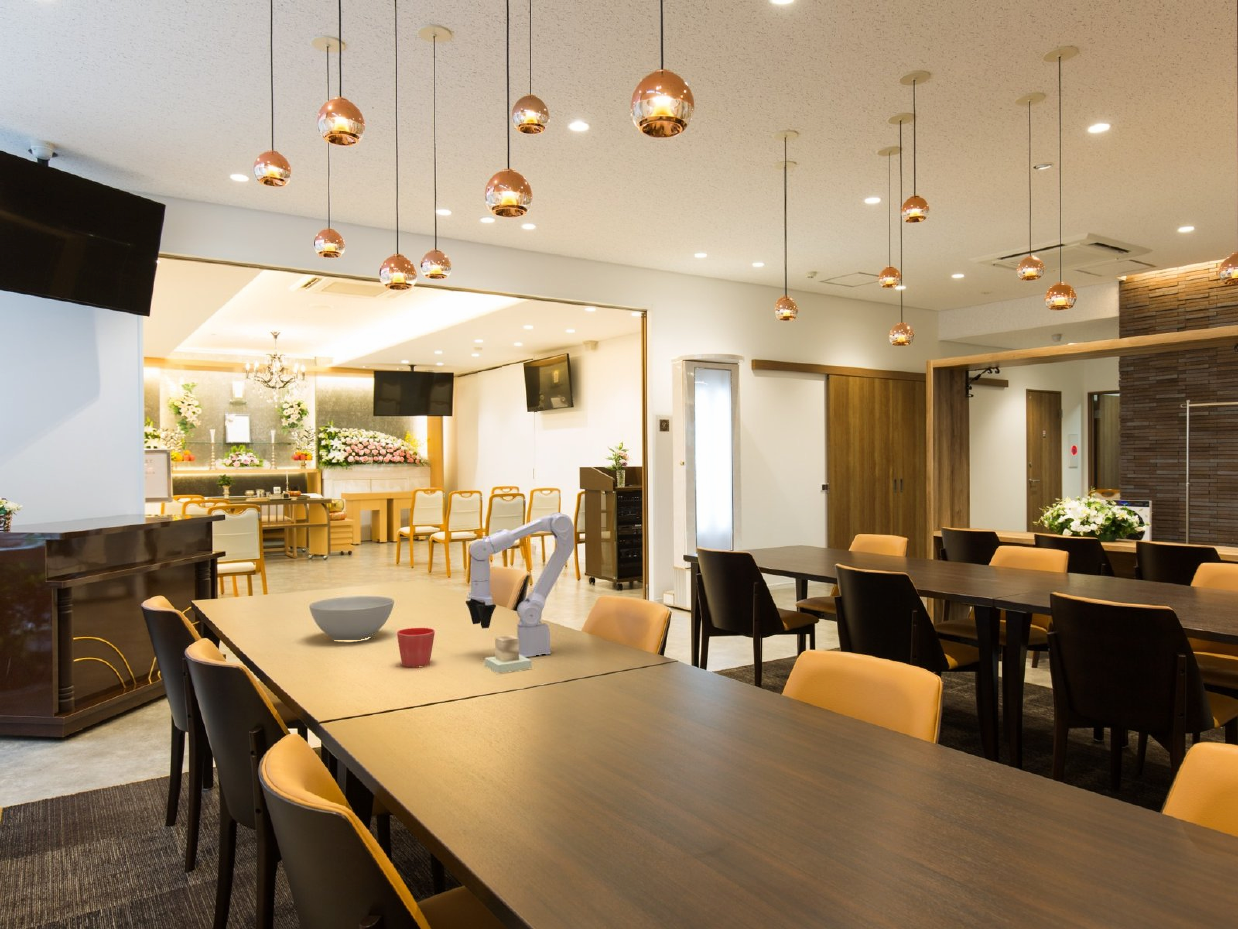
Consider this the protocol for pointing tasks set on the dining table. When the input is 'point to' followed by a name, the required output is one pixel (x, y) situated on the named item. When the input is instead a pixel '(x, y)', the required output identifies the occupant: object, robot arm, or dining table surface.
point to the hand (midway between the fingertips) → (480, 625)
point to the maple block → (507, 648)
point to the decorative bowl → (351, 616)
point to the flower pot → (415, 646)
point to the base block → (507, 664)
